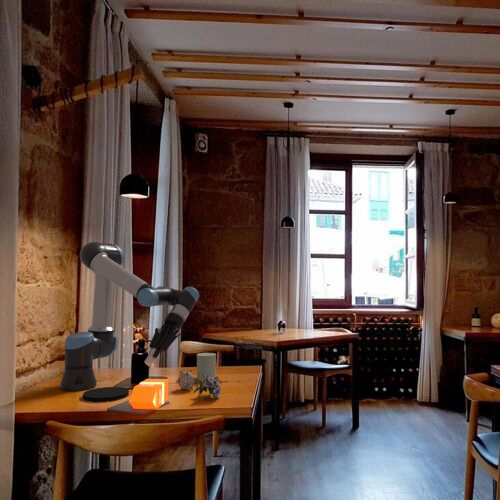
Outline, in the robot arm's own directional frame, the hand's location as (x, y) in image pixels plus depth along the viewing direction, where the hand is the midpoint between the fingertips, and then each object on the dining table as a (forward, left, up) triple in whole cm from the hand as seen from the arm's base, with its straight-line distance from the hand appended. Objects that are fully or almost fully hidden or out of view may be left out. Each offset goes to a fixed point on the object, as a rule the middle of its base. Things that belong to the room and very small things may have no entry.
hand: (147, 363), depth 173 cm
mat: (+2, -7, -14) cm, 16 cm away
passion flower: (+20, +13, -15) cm, 27 cm away
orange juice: (+3, +3, -10) cm, 11 cm away
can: (+3, +44, -14) cm, 46 cm away
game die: (+5, +22, -14) cm, 26 cm away
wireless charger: (-20, +1, -15) cm, 25 cm away
